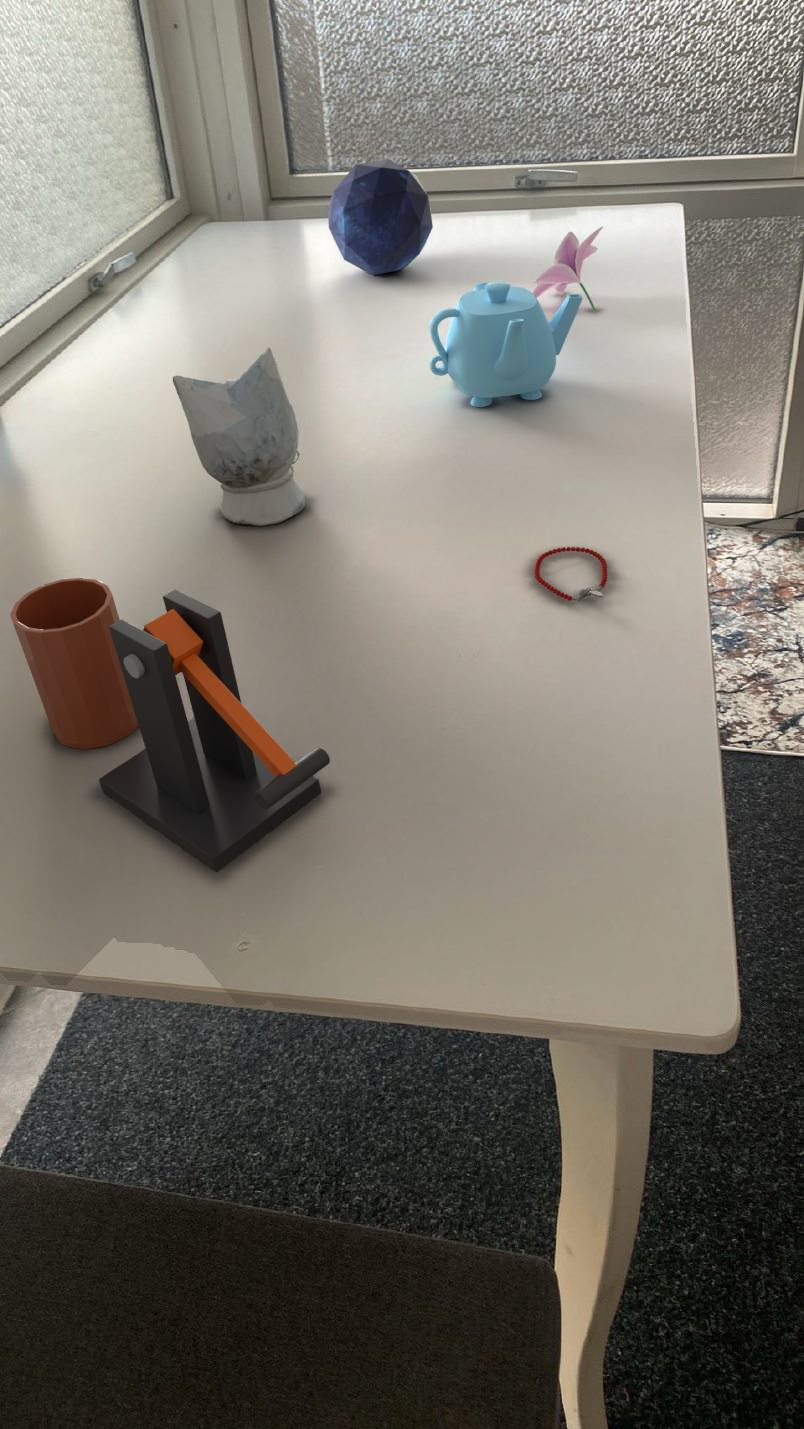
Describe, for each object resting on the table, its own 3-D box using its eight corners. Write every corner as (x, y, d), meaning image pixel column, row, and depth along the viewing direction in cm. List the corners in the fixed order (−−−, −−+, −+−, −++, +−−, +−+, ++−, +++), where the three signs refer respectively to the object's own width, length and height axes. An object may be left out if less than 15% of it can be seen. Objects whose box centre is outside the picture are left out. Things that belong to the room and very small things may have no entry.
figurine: (313, 480, 109) (290, 328, 100) (304, 526, 102) (278, 366, 92) (214, 487, 110) (182, 336, 100) (198, 533, 102) (162, 375, 93)
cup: (87, 761, 78) (46, 643, 72) (35, 725, 82) (-8, 610, 75) (163, 713, 81) (130, 597, 75) (110, 681, 85) (74, 568, 79)
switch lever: (325, 771, 67) (335, 753, 65) (263, 817, 64) (271, 800, 62) (186, 619, 69) (191, 597, 67) (120, 657, 66) (124, 636, 64)
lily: (611, 294, 146) (579, 225, 143) (646, 282, 135) (612, 206, 132) (533, 341, 146) (499, 272, 143) (562, 332, 134) (526, 257, 132)
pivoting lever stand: (321, 792, 73) (289, 616, 64) (216, 872, 68) (166, 693, 60) (205, 724, 80) (162, 556, 71) (102, 792, 75) (43, 621, 66)
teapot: (596, 380, 122) (598, 274, 115) (522, 426, 114) (519, 316, 107) (485, 356, 130) (481, 256, 123) (409, 398, 123) (400, 293, 116)
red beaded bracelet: (620, 602, 87) (621, 592, 86) (544, 611, 87) (543, 600, 86) (599, 547, 94) (599, 537, 93) (527, 555, 94) (527, 544, 93)
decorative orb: (457, 238, 150) (428, 129, 150) (350, 258, 147) (320, 147, 147) (433, 281, 164) (406, 181, 164) (335, 300, 161) (308, 199, 161)
